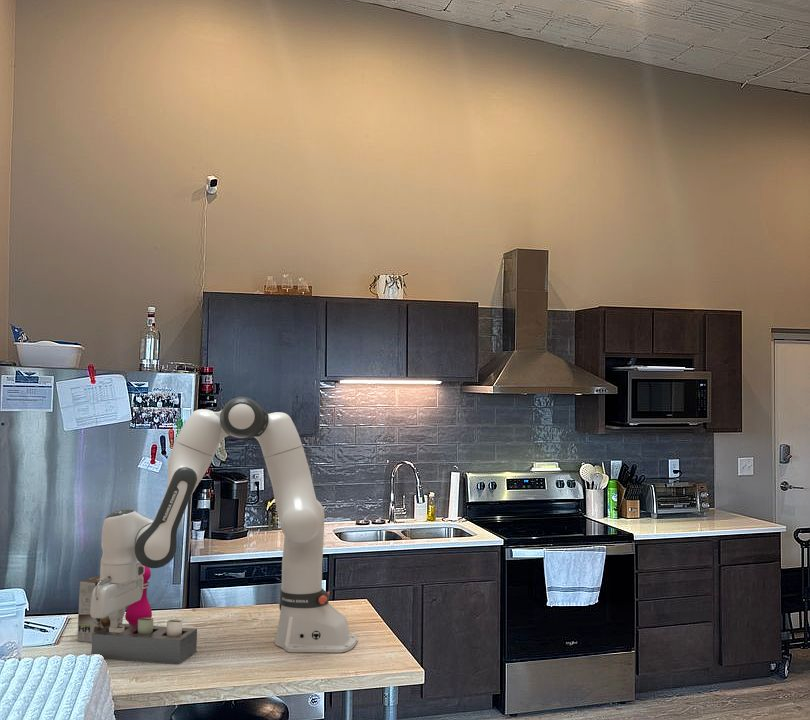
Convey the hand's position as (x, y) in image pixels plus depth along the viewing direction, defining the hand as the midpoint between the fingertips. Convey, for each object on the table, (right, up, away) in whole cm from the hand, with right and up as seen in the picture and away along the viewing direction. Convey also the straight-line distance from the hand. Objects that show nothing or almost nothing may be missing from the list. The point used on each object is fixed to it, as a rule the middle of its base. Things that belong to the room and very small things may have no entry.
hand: (116, 626), depth 207 cm
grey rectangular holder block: (+8, -7, -2) cm, 11 cm away
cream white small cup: (+16, -2, -3) cm, 16 cm away
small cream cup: (0, -5, 0) cm, 5 cm away
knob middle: (+8, -2, -1) cm, 8 cm away
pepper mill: (-1, -8, +19) cm, 21 cm away
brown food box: (-10, -7, +13) cm, 18 cm away
